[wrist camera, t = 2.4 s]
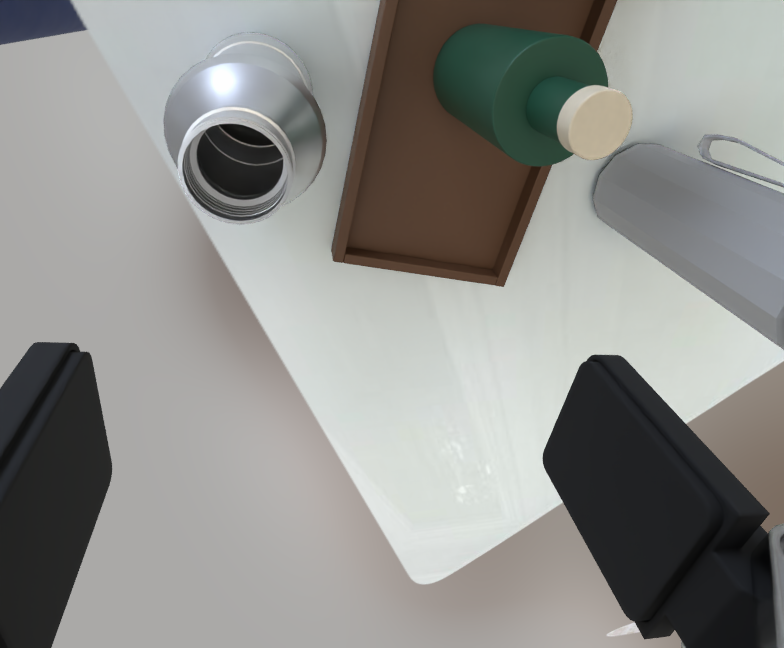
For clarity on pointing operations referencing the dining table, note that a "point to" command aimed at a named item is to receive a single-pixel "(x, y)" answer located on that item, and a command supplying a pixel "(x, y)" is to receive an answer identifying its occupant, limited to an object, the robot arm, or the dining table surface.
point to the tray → (440, 148)
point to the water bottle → (703, 226)
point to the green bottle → (531, 93)
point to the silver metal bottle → (245, 129)
